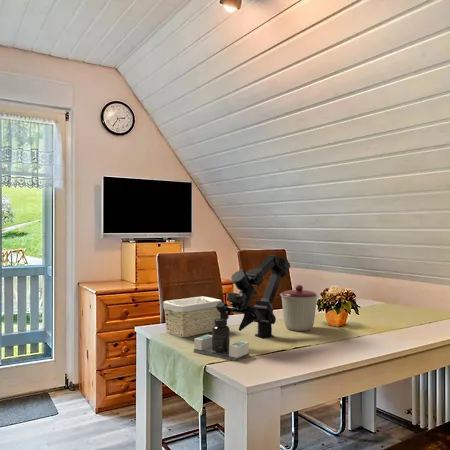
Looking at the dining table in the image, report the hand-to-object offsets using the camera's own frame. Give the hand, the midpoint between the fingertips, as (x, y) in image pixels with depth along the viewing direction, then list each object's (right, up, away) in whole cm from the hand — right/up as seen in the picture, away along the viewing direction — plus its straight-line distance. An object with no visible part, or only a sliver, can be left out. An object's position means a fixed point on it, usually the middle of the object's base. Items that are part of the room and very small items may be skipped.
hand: (229, 328), depth 170 cm
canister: (+34, -9, +37) cm, 51 cm away
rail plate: (-3, -8, -5) cm, 10 cm away
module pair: (-3, -7, -5) cm, 9 cm away
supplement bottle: (-3, -8, -4) cm, 9 cm away
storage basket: (-17, -9, +31) cm, 36 cm away
